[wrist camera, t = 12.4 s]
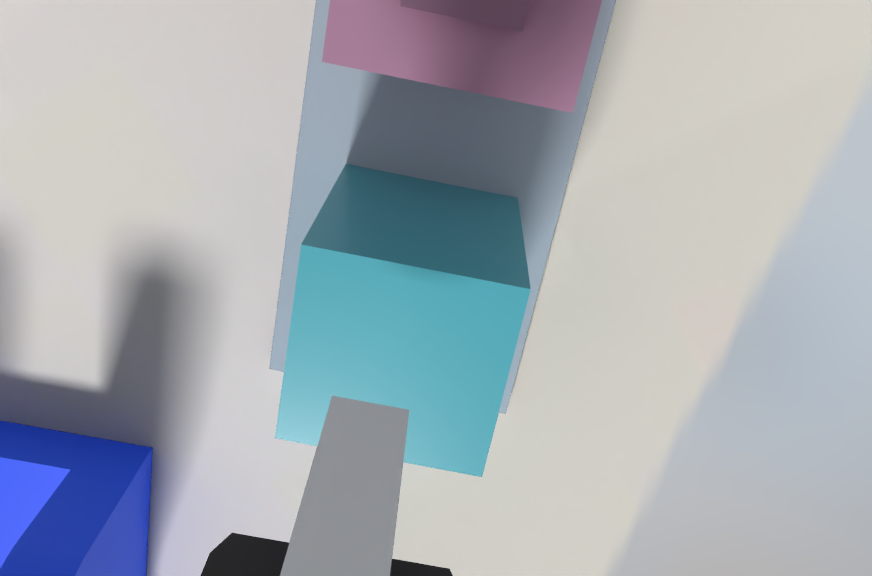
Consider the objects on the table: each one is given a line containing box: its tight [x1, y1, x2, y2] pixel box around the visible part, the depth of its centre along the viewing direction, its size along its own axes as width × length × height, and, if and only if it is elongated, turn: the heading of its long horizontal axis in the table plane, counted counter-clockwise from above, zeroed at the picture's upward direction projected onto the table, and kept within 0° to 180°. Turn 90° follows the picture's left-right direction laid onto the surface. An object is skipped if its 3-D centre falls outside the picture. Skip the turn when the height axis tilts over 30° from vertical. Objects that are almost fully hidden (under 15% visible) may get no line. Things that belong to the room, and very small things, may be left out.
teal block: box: [275, 164, 531, 477], centre depth 23 cm, size 5×5×7 cm
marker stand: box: [269, 0, 616, 414], centre depth 21 cm, size 8×18×8 cm, turn 169°
